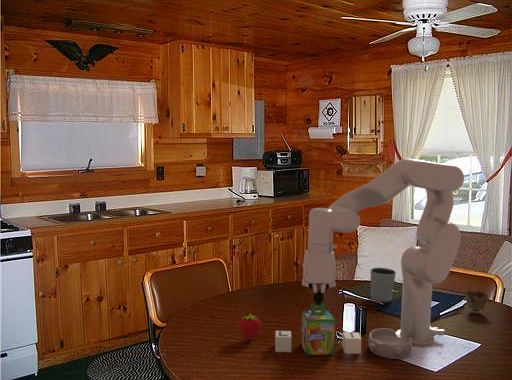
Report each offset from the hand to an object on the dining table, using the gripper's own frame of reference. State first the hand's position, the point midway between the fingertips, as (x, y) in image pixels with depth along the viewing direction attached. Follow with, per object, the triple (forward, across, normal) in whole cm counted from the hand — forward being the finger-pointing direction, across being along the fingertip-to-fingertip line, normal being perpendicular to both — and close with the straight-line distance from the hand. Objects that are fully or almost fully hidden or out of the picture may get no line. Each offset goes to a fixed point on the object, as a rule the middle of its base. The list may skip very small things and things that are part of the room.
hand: (318, 303), depth 165 cm
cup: (+15, -65, -36) cm, 76 cm away
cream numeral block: (+15, -11, 0) cm, 19 cm away
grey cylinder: (+15, -32, -51) cm, 62 cm away
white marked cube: (+15, +11, 0) cm, 19 cm away
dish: (+15, -23, 0) cm, 28 cm away
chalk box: (+15, 0, 0) cm, 16 cm away
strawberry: (+16, +22, -6) cm, 27 cm away
